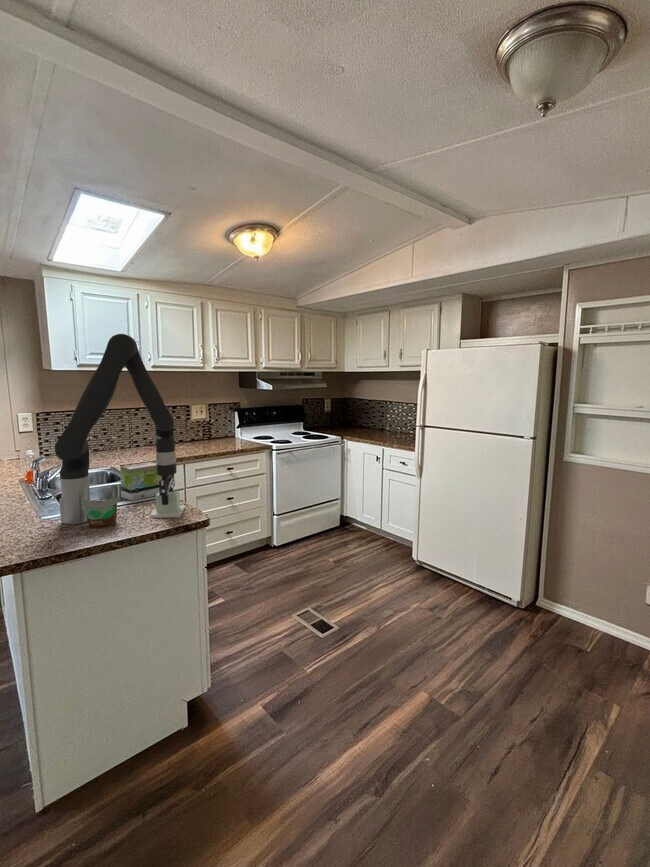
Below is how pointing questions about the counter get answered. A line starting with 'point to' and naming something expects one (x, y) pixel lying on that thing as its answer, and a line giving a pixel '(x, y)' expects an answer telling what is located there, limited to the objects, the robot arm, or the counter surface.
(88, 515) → the food container
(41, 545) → the counter surface
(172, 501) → the block
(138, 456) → the counter surface
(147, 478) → the tea box
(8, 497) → the counter surface
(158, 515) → the stub plate
